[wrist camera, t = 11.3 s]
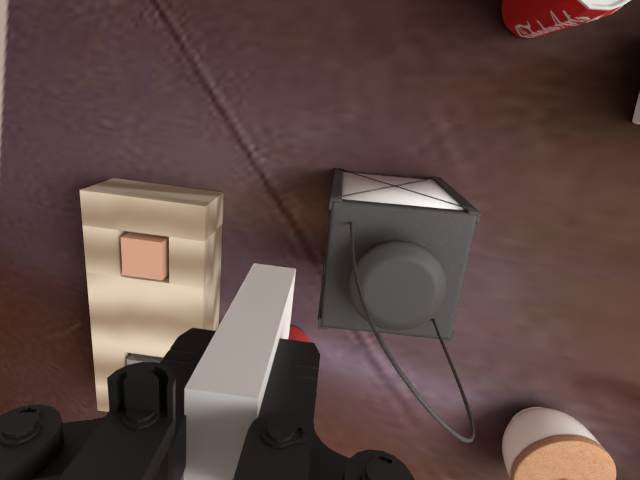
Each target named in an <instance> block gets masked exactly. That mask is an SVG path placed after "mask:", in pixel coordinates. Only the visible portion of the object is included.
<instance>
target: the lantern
mask: <svg viewBox="0 0 640 480" xmlns="http://www.w3.org/2000/svg"><path fill="white" fill-rule="evenodd" d="M330 210H331V217H330ZM480 214H481V212H479V211H478V210H477V209H476V208H475V207H474V206H473V205H471V204H470V203H469V202H468V201H467V200H466V199H465V198H463V197H462V196H461V195H460V194H459V193H458V192H456V191H455V190H454V189H453V188H452V187H451V186H450V185H448V184H447V183H446V182H445V181H444V180H443V179H442V178H438V177H436V178H435V177H432V178H430V179H429V178H418V177H407V176H396V175H385V174H374V173H363V172H352V171H346V170H343V169H340V168H339V169H337V168H335V169H334V173H333V181H332V188H331V194H330V202H329V204H328V217H327V236H326V247H325V257H324V266H325V273H324V266H323V276H324V282H323V276H322V285H323V290H322V285H321V295H322V298H321V295H320V304H319V314H318V320H319V323H318V328H319V329H329V328H338V329H348V330H358V331H368V332H374V334H375V336H376V338H377V340H378V342H379V344H380V345H381V347H382V349H383V350H384V352H385V354H386V355H387V357H388V358H389V360H390V362H391V363H392V365H393V366H394V368H395V370H396V371H397V373H398V374H399V375H400V377H401V378H402V379H403V381H404V382H405V384H406V385H407V386H408V388H409V389H410V390H411V392H412V393H413V394H414V396H415V397H416V398H417V399H418V400H419V402H420V403H421V404H422V405H423V406H424V407H425V409H426V410H427V411H428V412H429V413H430V414H431V415H432V417H433V418H434V419H435V420H436V421H437V422H438V423H439V424H440V425H441V426H443V427H444V428H445V429H446V430H447V431H448V432H449V433H450V434H452V435H453V436H454V437H456V438H457V439H459V440H461V441H463V442H472V441H473V439H474V436H475V428H474V422H473V418H472V414H471V411H470V408H469V405H468V402H467V399H466V396H465V393H464V391H463V388H462V386H461V383H460V380H459V378H458V376H457V373H456V371H455V368H454V366H453V363H452V361H451V359H450V356H449V354H448V352H447V349H446V347H445V344H444V342H443V341H446V342H452V341H453V337H454V331H453V326H454V322H455V317H456V313H457V308H458V303H459V299H460V294H461V290H462V285H463V280H464V276H465V271H466V267H467V262H468V258H469V253H470V248H471V244H472V239H473V235H474V230H475V225H476V224H478V223H479V219H480ZM329 218H330V228H329ZM328 228H329V239H328V250H327V237H328ZM326 253H327V258H326ZM325 263H326V265H325ZM320 305H321V306H320ZM379 333H387V334H397V335H407V336H416V337H426V338H436V339H439V340H440V342H441V344H442V347H443V349H444V352H445V354H446V356H447V359H448V362H449V364H450V366H451V369H452V371H453V374H454V376H455V379H456V381H457V384H458V387H459V389H460V392H461V395H462V398H463V401H464V404H465V407H466V410H467V413H468V417H469V421H470V428H471V435H470V437H469V438H465V437H463V436H461V435H459V434H458V433H457V432H455V431H454V430H453V429H451V428H450V427H449V426H448V425H447V424H446V423H445V422H444V421H443V420H442V419H441V418H440V417H439V416H438V415H437V414H436V413H435V412H434V411H433V410H432V409H431V407H430V406H429V405H428V404H427V403H426V402H425V400H424V399H423V398H422V397H421V396H420V395H419V393H418V392H417V391H416V389H415V388H414V387H413V385H412V384H411V383H410V381H409V380H408V379H407V377H406V376H405V375H404V373H403V372H402V370H401V369H400V367H399V366H398V364H397V363H396V361H395V360H394V358H393V356H392V355H391V353H390V352H389V350H388V349H387V347H386V345H385V344H384V342H383V340H382V338H381V336H380V334H379Z"/></svg>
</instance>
